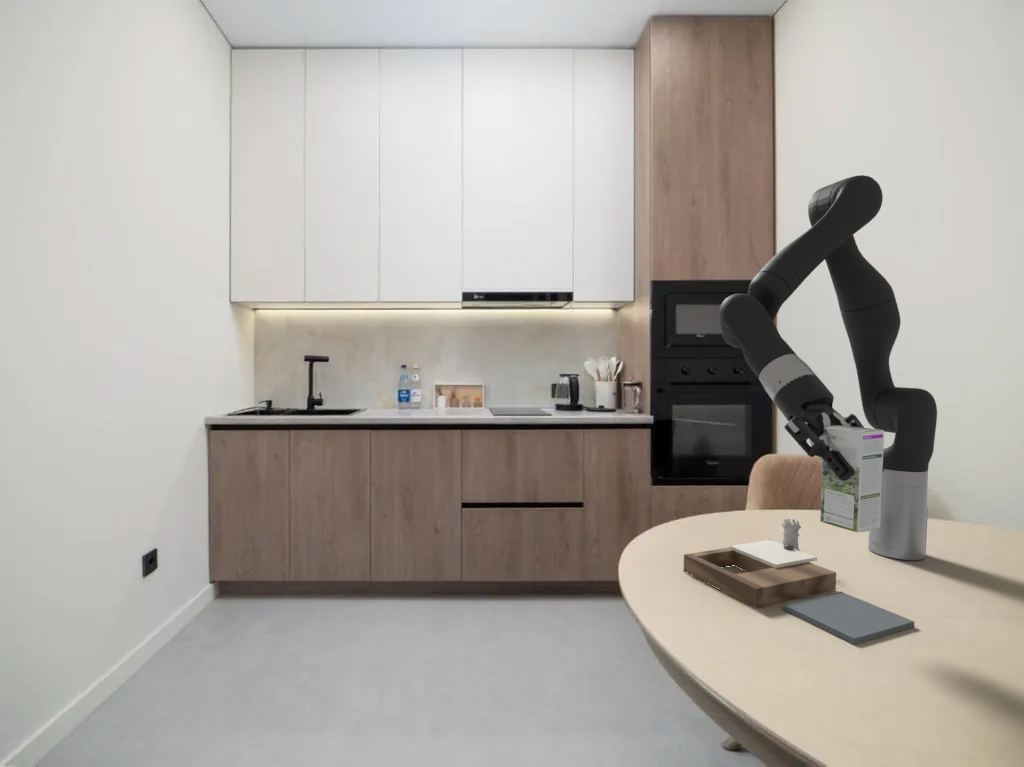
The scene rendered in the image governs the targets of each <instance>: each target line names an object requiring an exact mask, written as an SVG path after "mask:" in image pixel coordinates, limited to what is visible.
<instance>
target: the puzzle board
mask: <svg viewBox="0 0 1024 767" xmlns="http://www.w3.org/2000/svg"><path fill="white" fill-rule="evenodd" d="M732 565H735V566H737V567H739V568H741V569H743V570H742V571H744V570H745V571H744V572H742V573H734V572H731V571H729V570H727V569H726V568H727V567H726V566H732ZM735 566H734V567H735ZM721 567H726V568H721ZM732 567H733V566H732ZM737 567H736V568H737ZM739 568H738V569H739ZM741 569H740V570H741ZM684 571H686V572H688V573H689V575H690V574H692V575H693V577H694V576H695V577H694V578H696V577H697V578H696V579H698V578H699V579H698V580H700V579H701V581H702V580H703V581H702V582H704V581H705V582H704V583H706V582H707V583H706V584H708V583H709V584H708V585H710V584H711V585H710V586H712V585H713V586H712V587H714V586H715V587H717V588H719V589H720V590H719V589H718V590H719V591H721V590H722V591H721V592H723V591H724V592H723V593H725V592H726V593H725V594H727V593H728V594H727V595H730V596H731V595H732V596H731V597H734V598H736V599H737V600H739V601H740V602H743V603H745V604H747V605H748V606H751V607H752V608H754V609H757V608H758V609H759V608H762V607H763V608H764V607H767V606H771V605H777V604H782V603H786V602H788V601H789V602H790V601H794V600H798V599H803V598H807V597H812V596H818V595H820V594H826V593H829V592H835V591H836V589H837V588H836V586H837V572H836V571H834V570H831V569H828V568H825V567H823V566H820V565H818V564H815V563H813V562H806V563H801V564H796V565H790V566H785V567H780V568H774V567H772V566H769V565H767V564H765V563H762V562H760V561H757V560H755V559H753V558H750V557H748V556H745V555H743V554H740V553H738V552H736V551H733V550H731V549H730V546H729V547H723V548H715V549H710V550H704V551H698V552H693V553H686V554H684V555H683V572H684ZM746 571H747V572H746ZM686 572H685V573H686ZM688 573H687V574H688ZM692 575H691V576H692ZM715 587H714V588H715ZM717 588H716V589H717Z"/></svg>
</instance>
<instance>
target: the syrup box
mask: <svg viewBox="0 0 1024 767" xmlns="http://www.w3.org/2000/svg"><path fill="white" fill-rule="evenodd" d="M824 429H825V427H824ZM826 430H827V431H828V432H829V433H830V440H831V441H832V442H833V443H834V445H835V446H836V451H839V452H840V453H841V454H842V456H843V457H844V458H845V459H846V461H847V462H848V463H849V465H850V466H851V467H852V468H853V470H854V475H852V476H851V477H850V478H848V479H847V480H840V479H839V478H838V476H837V475H836V474H835V473H834V472H833V470H832V469H831V468H830V466H829V465H828V464H827V462H826V461H825V460H822V470H821V497H820V522H821V523H824V524H828V525H831V526H833V527H836V528H841V529H844V530H847V531H851V532H855V533H863V532H869V531H870V530H875V529H879V528H880V520H881V487H882V467H883V449H885V448H884V447H885V431H884V430H879V429H875V428H870V427H869V428H868V427H864V428H862V427H853V426H843V425H835V426H830V427H827V428H826ZM824 444H825V442H824ZM825 445H826V444H825ZM836 451H835V452H836Z"/></svg>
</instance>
